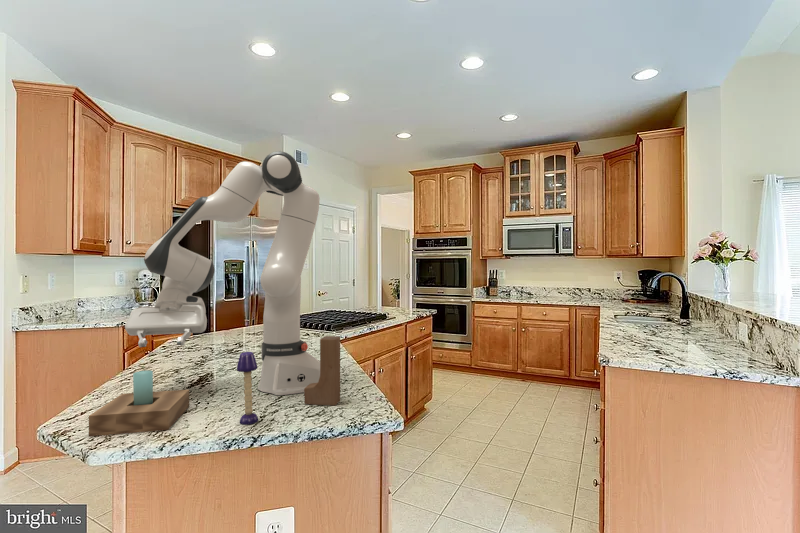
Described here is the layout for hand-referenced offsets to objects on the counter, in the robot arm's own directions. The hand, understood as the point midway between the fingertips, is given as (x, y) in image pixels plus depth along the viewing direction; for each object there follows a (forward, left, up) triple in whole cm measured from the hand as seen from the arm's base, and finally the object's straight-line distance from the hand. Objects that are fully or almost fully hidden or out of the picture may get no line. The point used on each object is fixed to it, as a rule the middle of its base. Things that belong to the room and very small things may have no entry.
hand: (161, 345), depth 109 cm
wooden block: (-43, +8, -16) cm, 47 cm away
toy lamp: (-25, +18, -16) cm, 35 cm away
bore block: (0, +11, -16) cm, 20 cm away
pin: (0, +11, -16) cm, 19 cm away
